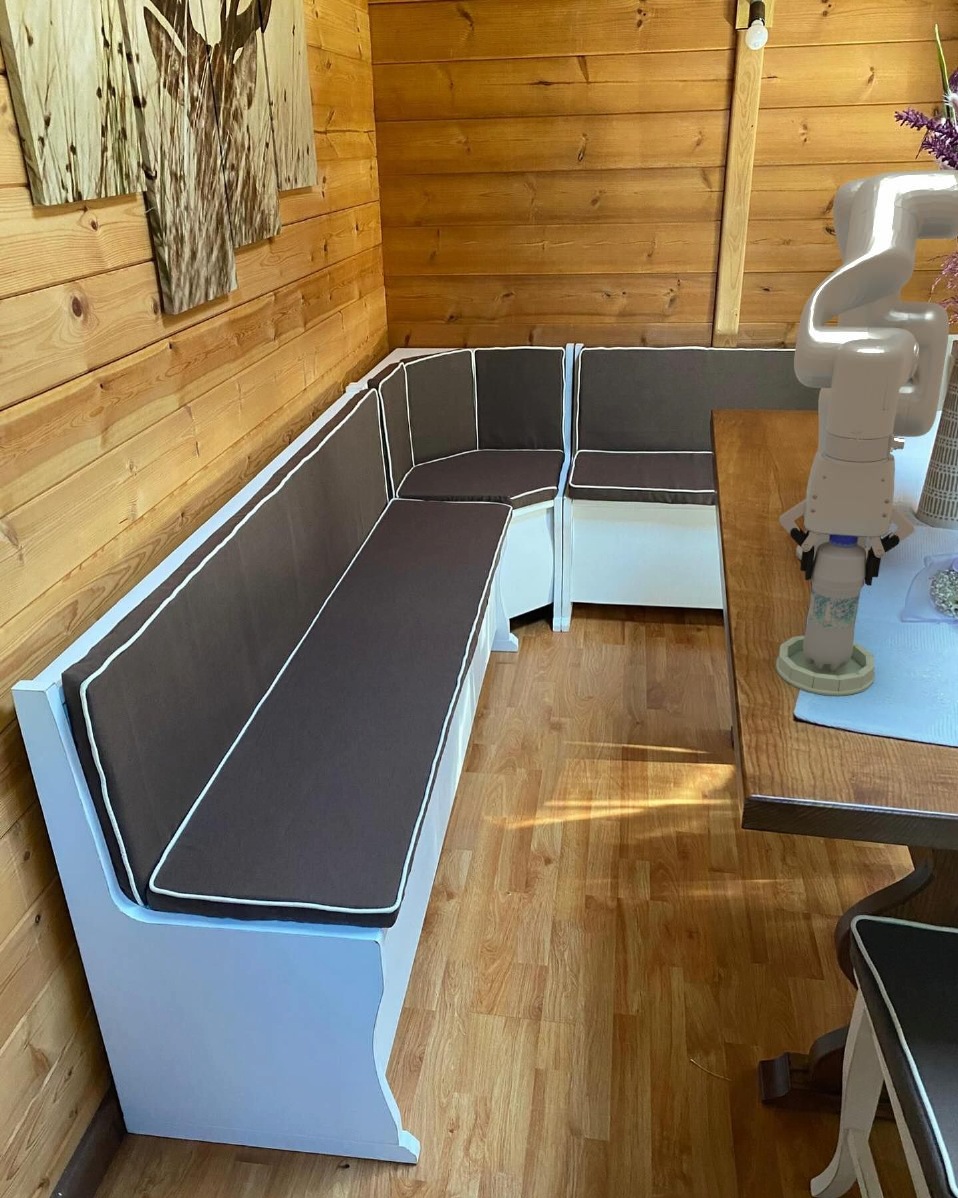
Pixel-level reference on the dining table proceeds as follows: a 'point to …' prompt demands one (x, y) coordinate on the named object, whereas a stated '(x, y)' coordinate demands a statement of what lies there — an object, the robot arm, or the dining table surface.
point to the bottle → (834, 601)
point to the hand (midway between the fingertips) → (837, 577)
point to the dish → (825, 671)
